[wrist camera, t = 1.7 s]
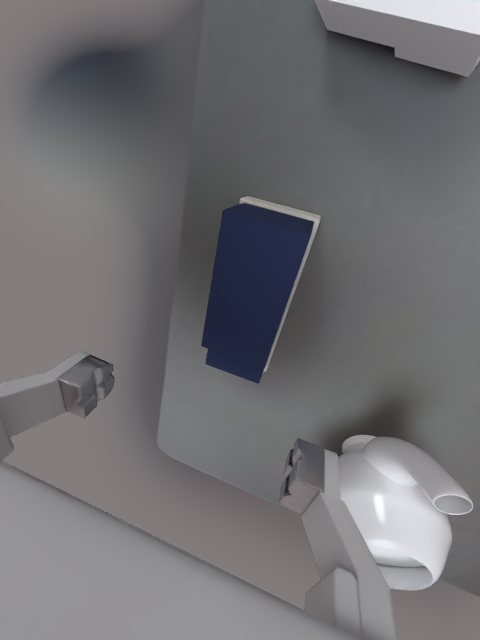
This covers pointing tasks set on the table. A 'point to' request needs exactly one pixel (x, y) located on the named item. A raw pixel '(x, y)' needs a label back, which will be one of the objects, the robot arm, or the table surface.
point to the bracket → (413, 28)
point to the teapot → (400, 507)
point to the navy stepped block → (254, 283)
